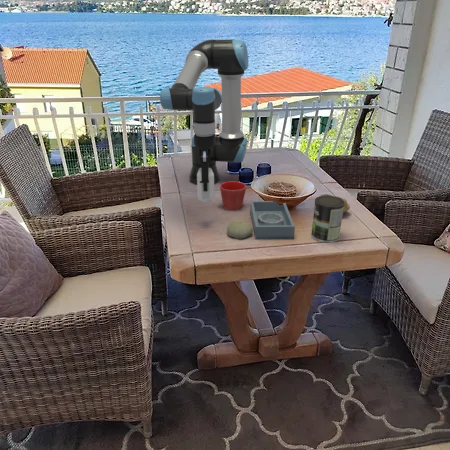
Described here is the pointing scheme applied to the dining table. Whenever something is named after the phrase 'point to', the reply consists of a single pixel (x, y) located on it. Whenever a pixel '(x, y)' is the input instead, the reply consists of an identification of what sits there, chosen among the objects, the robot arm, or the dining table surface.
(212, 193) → the beverage can
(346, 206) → the oil lamp
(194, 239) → the dining table surface
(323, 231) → the coffee can
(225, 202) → the flower pot
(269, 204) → the walled box
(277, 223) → the inlet ring
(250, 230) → the sea urchin shell
